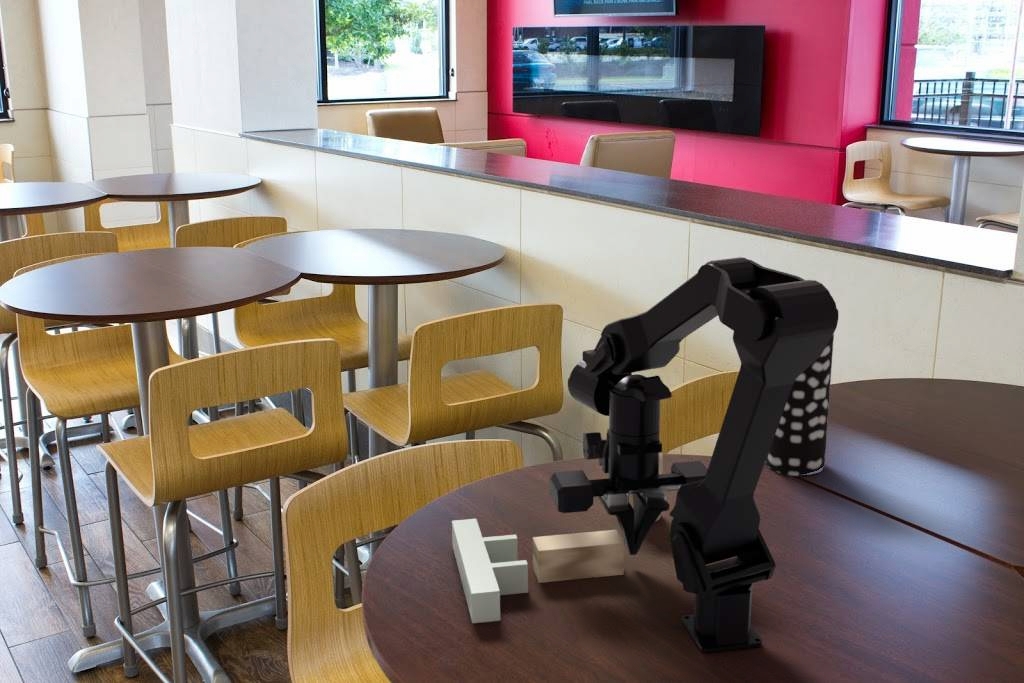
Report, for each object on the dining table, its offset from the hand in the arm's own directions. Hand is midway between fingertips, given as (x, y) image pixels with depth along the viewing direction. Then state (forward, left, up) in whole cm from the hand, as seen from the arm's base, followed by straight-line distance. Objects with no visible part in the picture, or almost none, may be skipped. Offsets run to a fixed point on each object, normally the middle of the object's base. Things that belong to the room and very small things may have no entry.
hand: (632, 553), depth 119 cm
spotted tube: (+25, -32, -2) cm, 40 cm away
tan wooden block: (0, +7, -2) cm, 7 cm away
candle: (+13, -5, -2) cm, 14 cm away
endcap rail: (0, +17, -2) cm, 17 cm away
